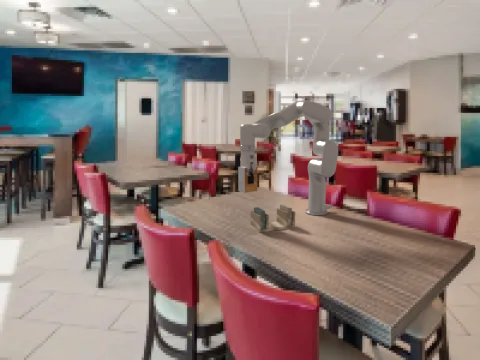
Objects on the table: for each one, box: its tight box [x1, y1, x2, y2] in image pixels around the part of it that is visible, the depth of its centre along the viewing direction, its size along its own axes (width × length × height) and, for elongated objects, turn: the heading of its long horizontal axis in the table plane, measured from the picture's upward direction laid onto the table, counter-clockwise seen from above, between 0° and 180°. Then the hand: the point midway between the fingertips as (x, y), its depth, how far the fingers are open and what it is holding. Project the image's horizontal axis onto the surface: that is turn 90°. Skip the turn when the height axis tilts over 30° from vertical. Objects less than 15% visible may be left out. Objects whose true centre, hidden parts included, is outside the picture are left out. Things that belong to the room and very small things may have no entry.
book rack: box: [250, 203, 296, 233], centre depth 191 cm, size 20×10×10 cm, turn 114°
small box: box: [237, 166, 258, 194], centre depth 198 cm, size 8×6×13 cm
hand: (247, 182), depth 198 cm, fingers closed on small box, 6 cm apart
